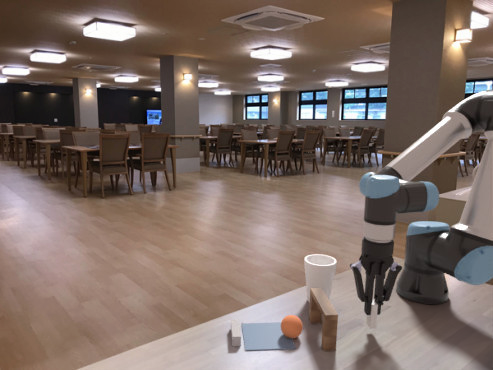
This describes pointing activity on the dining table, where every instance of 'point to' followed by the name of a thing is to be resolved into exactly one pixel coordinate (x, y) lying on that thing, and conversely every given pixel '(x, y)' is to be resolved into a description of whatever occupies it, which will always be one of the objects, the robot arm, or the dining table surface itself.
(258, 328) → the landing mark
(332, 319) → the bridge
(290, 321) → the ball
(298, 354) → the dining table surface
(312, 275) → the foam cup
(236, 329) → the beige rectangular bar
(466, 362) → the dining table surface
